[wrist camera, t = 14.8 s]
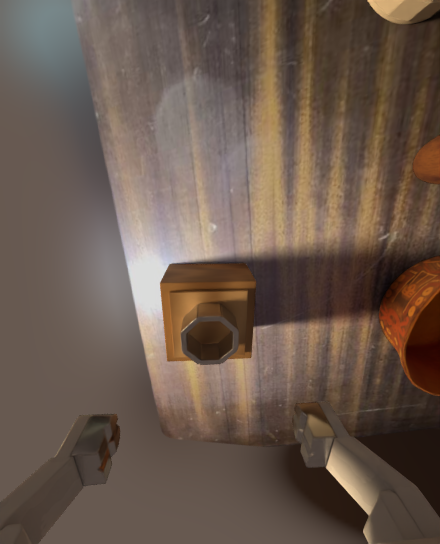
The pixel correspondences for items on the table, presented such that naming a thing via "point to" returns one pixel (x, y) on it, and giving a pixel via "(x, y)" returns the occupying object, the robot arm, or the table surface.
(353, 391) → the table surface
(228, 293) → the cork coaster
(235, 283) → the oak stand
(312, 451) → the robot arm
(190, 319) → the silver octagonal cup
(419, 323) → the bowl
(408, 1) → the cream bowl
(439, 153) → the wooden figurine
